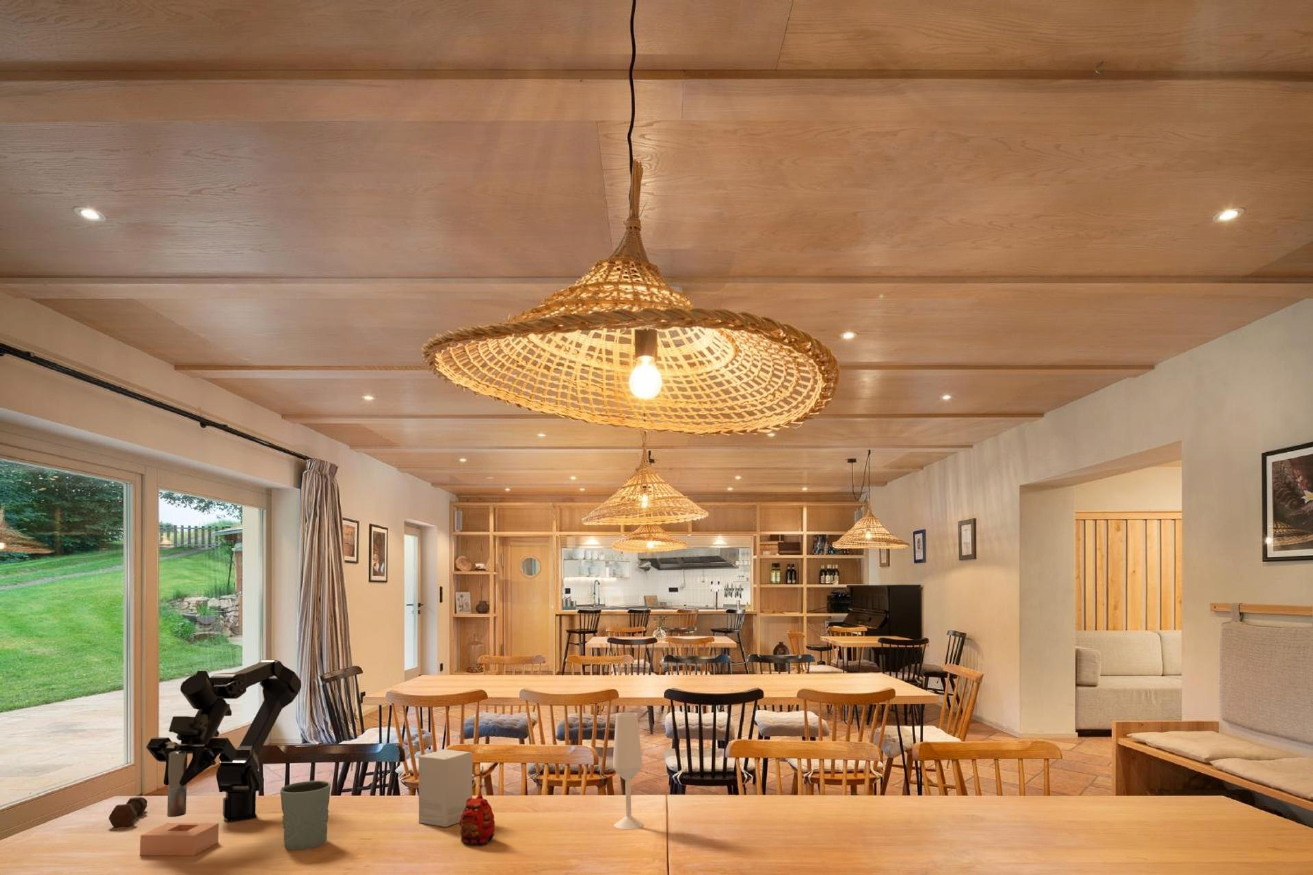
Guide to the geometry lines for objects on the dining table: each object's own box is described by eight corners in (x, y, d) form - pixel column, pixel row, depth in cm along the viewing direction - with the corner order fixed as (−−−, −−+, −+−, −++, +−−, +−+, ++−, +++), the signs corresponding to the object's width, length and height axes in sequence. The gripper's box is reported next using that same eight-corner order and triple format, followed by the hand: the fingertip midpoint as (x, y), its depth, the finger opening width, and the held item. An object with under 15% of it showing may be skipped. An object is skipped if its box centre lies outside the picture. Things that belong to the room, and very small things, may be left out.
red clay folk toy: (453, 844, 200) (453, 771, 202) (471, 835, 207) (470, 764, 209) (485, 847, 198) (484, 773, 199) (501, 838, 204) (501, 766, 206)
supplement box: (473, 818, 220) (473, 751, 222) (445, 827, 213) (446, 759, 215) (445, 813, 225) (445, 748, 227) (417, 822, 218) (417, 755, 219)
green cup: (339, 838, 207) (340, 781, 208) (308, 853, 197) (309, 793, 199) (301, 835, 210) (302, 779, 211) (268, 849, 200) (269, 790, 202)
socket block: (166, 841, 207) (166, 822, 208) (218, 842, 206) (218, 823, 207) (139, 855, 199) (140, 835, 199) (193, 855, 197) (194, 835, 198)
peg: (178, 811, 206) (180, 749, 208) (189, 813, 205) (191, 751, 206) (163, 815, 203) (165, 753, 204) (174, 817, 201) (176, 754, 203)
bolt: (143, 818, 234) (124, 833, 220) (124, 809, 234) (104, 824, 219) (157, 796, 236) (139, 809, 221) (138, 787, 235) (119, 800, 221)
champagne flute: (608, 827, 210) (606, 716, 213) (621, 819, 216) (619, 711, 219) (636, 830, 207) (634, 717, 210) (648, 821, 213) (646, 712, 216)
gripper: (153, 700, 212) (116, 762, 200) (230, 700, 209) (197, 763, 197) (175, 729, 219) (140, 791, 207) (250, 729, 216) (219, 792, 204)
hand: (173, 784), depth 203 cm, fingers closed on peg, 4 cm apart
